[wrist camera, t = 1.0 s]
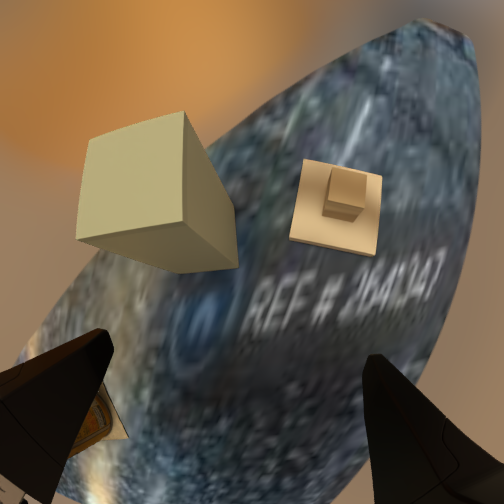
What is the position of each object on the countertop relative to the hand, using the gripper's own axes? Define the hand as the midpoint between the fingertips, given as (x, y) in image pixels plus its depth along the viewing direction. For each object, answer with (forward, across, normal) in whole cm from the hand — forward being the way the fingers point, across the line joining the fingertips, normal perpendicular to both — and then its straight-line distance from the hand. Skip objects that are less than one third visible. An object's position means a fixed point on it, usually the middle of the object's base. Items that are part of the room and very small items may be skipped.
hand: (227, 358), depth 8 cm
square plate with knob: (+17, -6, -1) cm, 18 cm away
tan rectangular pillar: (+15, +5, +2) cm, 16 cm away
